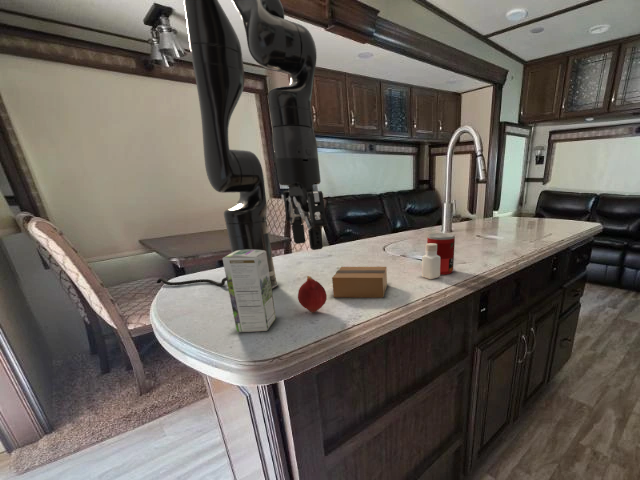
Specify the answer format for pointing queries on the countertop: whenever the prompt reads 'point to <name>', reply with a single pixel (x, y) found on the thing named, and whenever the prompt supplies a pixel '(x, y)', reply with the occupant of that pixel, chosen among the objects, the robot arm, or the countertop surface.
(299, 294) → the onion
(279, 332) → the countertop surface
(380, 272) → the cardboard box
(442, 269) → the canned food
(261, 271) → the syrup box
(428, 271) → the pepper shaker
